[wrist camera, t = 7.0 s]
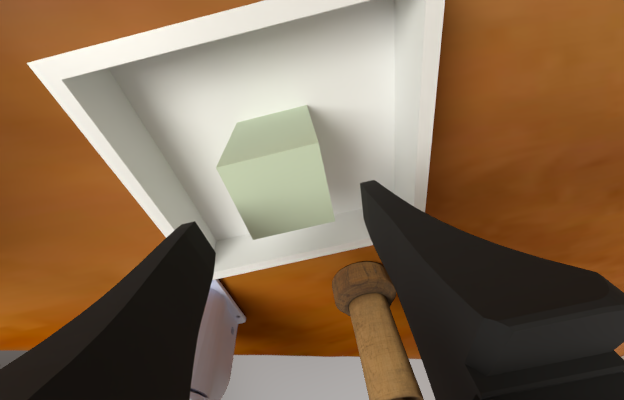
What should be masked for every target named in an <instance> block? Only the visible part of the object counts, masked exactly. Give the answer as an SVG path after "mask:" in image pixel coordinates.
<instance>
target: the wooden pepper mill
mask: <svg viewBox="0 0 624 400" xmlns="http://www.w3.org/2000/svg"><path fill="white" fill-rule="evenodd" d="M332 288H333V293H334V299H335V304H336V306H337V308H338V309H339V310H340V311H342V312H343V313H346V314H347V315H349V316H351V319H352V324H353V328H354V332H355V337H356V341H357V345H358V350H359V354H360V359H361V363H362V368H363V372H364V377H365V381H366V386H367V391H368V395H369V400H424V399H423V396H422V393H421V391H420V388H419V386H418V383H417V380H416V378H415V375H414V373H413V370H412V367H411V365H410V362H409V359H408V357H407V354H406V351H405V349H404V346H403V343H402V341H401V338H400V335H399V332H398V330H397V327H396V324H395V321H394V319H393V316H392V313H391V310H390V305H391V303H392V302H393V300H394V298H395V296H396V290H395V287H394V285H393V283H392V281H391V279H390V277H389V275H388V273H387V271H386V269H385V267H384V266H382V265H381V264H378V263H374V262H359V263H354V264H352V265H349V266H346V267H344V268H343V269H341V270H340V271H339V272H338V273H337V274H336V275H335V277H334V279H333V282H332Z"/></svg>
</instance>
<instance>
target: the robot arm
mask: <svg viewBox="0 0 624 400" xmlns="http://www.w3.org/2000/svg"><path fill="white" fill-rule="evenodd" d="M360 189H361V199H362V208H363V218H364V222H365V225H366V228H367V230H368V233H369V236H370V239H371V241H372V243H373V245H374V247H375V249H376V251H377V253H378V255H379V257H380V259H381V261H382V263H383V265H384V267H385V269H386V271H387V273H388V275H389V277H390V279H391V281H392V283H393V285H394V287H395V290H396V292H397V294H398V297H399V299H400V302H401V305H402V307H403V310H404V312H405V315H406V318H407V320H408V323H409V326H410V328H411V331H412V334H413V336H414V339H415V342H416V345H417V347H418V350H419V353H420V356H421V359H422V361H423V364H424V367H425V370H426V373H427V376H428V378H429V382H430V384H431V387H432V390H433V393H434V396H435V399H436V400H624V360H623V359H622V358H621V357H620V356H619V355H618V354H617V353H616V352H615V351H614V349H616V348H617V347H618V346H619V345H621V344H622V343H623V342H624V293H623V292H622V291H621V290H619V289H618V288H617V287H616V286H614V285H613V284H612V283H610V282H609V281H608V280H606V279H605V278H604V277H602V276H601V275H600V274H598V273H597V272H593V271H589V270H585V269H581V268H577V267H574V266H570V265H566V264H562V263H558V262H554V261H550V260H546V259H543V258H539V257H536V256H532V255H529V254H526V253H523V252H519V251H516V250H513V249H510V248H507V247H504V246H501V245H498V244H495V243H492V242H490V241H487V240H484V239H482V238H479V237H476V236H474V235H471V234H469V233H466V232H464V231H461V230H459V229H457V228H455V227H453V226H450V225H448V224H446V223H444V222H442V221H440V220H438V219H436V218H434V217H432V216H430V215H428V214H426V213H425V212H423V211H421V210H419V209H417V208H416V207H414V206H412V205H411V204H409V203H408V202H406V201H404V200H403V199H401V198H400V197H398V196H397V195H395V194H394V193H392V192H391V191H390V190H388V189H387V188H385V187H384V186H383V185H381V184H380V183H378V182H377V181H375V180H371V181H367V182H362V183H360ZM215 257H216V252H215V251H214V249H213V248H212V246H211V245H210V243H209V242H208V240H207V239H206V237H205V235H204V234H203V232H202V231H201V229H200V228H199V226H198V225H197V223H196V222H195V221H194V222H190V223H185V224H181V225H180V226H179V227H178V228H176V229H175V230H174V231H173V232H172V233H171V234H170V235H169V236H168V237H167V238H166V239H165V240H164V241H162V242H161V243H160V244H159V245H158V246H157V247H156V248H155V249H154V250H153V251H152V252H151V253H150V254H149V255H148V256H147V257H146V258H145V259H144V260H143V261H142V262H141V263H140V264H139V265H138V266H136V267H135V268H134V269H133V270H132V271H131V272H130V273H129V274H128V275H127V276H126V277H124V278H123V279H122V280H121V281H120V282H119V283H118V284H117V285H116V286H114V287H113V288H112V289H111V290H110V291H109V292H107V293H106V294H105V295H104V296H103V297H101V298H100V299H99V300H98V301H96V302H95V303H94V304H93V305H91V306H90V307H89V308H88V309H86V310H85V311H84V312H83V313H81V314H80V315H79V316H77V317H76V318H74V319H73V320H72V321H70V322H69V323H68V324H66V325H65V326H63V327H62V328H61V329H59V330H58V331H57V332H55V333H54V334H52V335H51V336H50V337H48V338H47V339H45V340H44V341H43V342H41V343H40V344H38V345H37V346H35V347H34V348H32V349H31V350H29V351H28V352H26V353H25V354H23V355H22V356H20V357H19V358H17V359H16V360H14V361H13V362H11V363H9V364H8V365H6V366H5V367H3V368H2V369H0V400H220V399H221V398H222V396H223V395H224V393H225V391H226V389H227V386H228V383H229V380H230V375H231V368H232V361H233V355H234V348H235V341H236V334H237V328H238V324H241V323H244V322H245V321H246V317H245V316H244V314H243V313H242V311H241V310H240V309H239V307H238V306H237V305H236V303H235V302H234V300H233V299H232V298H231V296H230V295H229V293H228V292H227V291H226V289H225V288H224V287H223V285H222V284H221V282H220V281H219V280H218V279H215V280H212V279H213V275H214V267H215Z"/></svg>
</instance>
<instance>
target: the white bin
mask: <svg viewBox="0 0 624 400" xmlns="http://www.w3.org/2000/svg"><path fill="white" fill-rule="evenodd" d="M444 6H445V0H265V1H261V2H257V3H253V4H250V5H246V6H242V7H238V8H234V9H231V10H227V11H223V12H219V13H215V14H212V15H208V16H204V17H200V18H196V19H193V20H189V21H185V22H181V23H177V24H173V25H170V26H166V27H162V28H158V29H154V30H151V31H147V32H143V33H139V34H135V35H132V36H128V37H124V38H120V39H116V40H113V41H109V42H105V43H101V44H97V45H93V46H90V47H86V48H82V49H78V50H74V51H71V52H67V53H63V54H59V55H55V56H52V57H48V58H44V59H40V60H36V61H33V62H29V63H27V64H28V65H29V67H30V68H31V69H32V70H33V72H34V73H35V74H36V75H37V77H38V78H39V79H40V80H41V82H42V83H43V84H44V85H45V87H46V88H47V89H48V90H49V92H50V93H51V94H52V95H53V97H54V98H55V99H56V100H57V102H58V103H59V104H60V105H61V107H62V108H63V109H64V110H65V112H66V113H67V114H68V115H69V117H70V118H71V119H72V120H73V122H74V123H75V124H76V125H77V127H78V128H79V129H80V130H81V132H82V133H83V134H84V135H85V137H86V138H87V139H88V140H89V142H90V143H91V144H92V145H93V147H94V148H95V149H96V150H97V152H98V153H99V154H100V155H101V157H102V158H103V159H104V160H105V162H106V163H107V164H108V165H109V167H110V168H111V169H112V170H113V172H114V173H115V174H116V175H117V177H118V178H119V179H120V180H121V182H122V183H123V184H124V185H125V187H126V188H127V189H128V190H129V192H130V193H131V194H132V195H133V197H134V198H135V199H136V200H137V202H138V203H139V204H140V206H141V207H142V208H143V209H144V211H145V212H146V213H147V214H148V216H149V217H150V218H151V219H152V221H153V222H154V223H155V224H156V226H157V227H158V228H159V229H160V231H161V232H162V233H163V234H164V236H165V237H166V238H167V237H168V236H169V235H170V234H171V233H172V232H173V231H174V230H175V229H176V228H178V227H179V226H180V225H181V224H185V223H190V222H194V221H195V222H196V223H197V225H198V226H199V228H200V229H201V231H202V232H203V234H204V235H205V237H206V239H207V240H208V242H209V243H210V245H211V246H212V248H213V249H214V251H215V252H216V257H215V267H214V275H213V279H212V280H215V279H220V278H224V277H229V276H233V275H238V274H242V273H247V272H252V271H256V270H261V269H265V268H270V267H274V266H279V265H284V264H288V263H293V262H297V261H302V260H306V259H311V258H316V257H320V256H325V255H329V254H334V253H338V252H343V251H347V250H352V249H357V248H361V247H366V246H370V245H373V243H372V241H371V239H370V236H369V233H368V230H367V228H366V225H365V222H364V218H363V208H362V199H361V189H360V183H362V182H367V181H371V180H375V181H377V182H378V183H380V184H381V185H383V186H384V187H385V188H387V189H388V190H390V191H391V192H392V193H394V194H395V195H397V196H398V197H400V198H401V199H403V200H404V201H406V202H408V203H409V204H411V205H412V206H414V207H416V208H417V209H419V210H421V211H423V212H425V208H426V197H427V187H428V176H429V165H430V155H431V144H432V133H433V123H434V112H435V102H436V91H437V80H438V70H439V59H440V48H441V38H442V27H443V17H444ZM305 105H307V107H308V110H309V114H310V117H311V120H312V123H313V126H314V129H315V133H316V136H317V139H318V142H319V147H320V151H321V156H322V161H323V166H324V170H325V175H326V180H327V185H328V189H329V194H330V199H331V204H332V208H333V213H334V218H335V221H334V222H330V223H325V224H321V225H317V226H312V227H308V228H303V229H299V230H295V231H290V232H286V233H282V234H277V235H273V236H269V237H264V238H260V239H256V240H253V239H252V237H251V235H250V233H249V231H248V229H247V227H246V225H245V223H244V222H243V220H242V218H241V216H240V214H239V212H238V210H237V208H236V206H235V204H234V202H233V200H232V198H231V196H230V194H229V192H228V190H227V188H226V186H225V184H224V183H223V181H222V179H221V177H220V175H219V173H218V171H217V169H216V167H217V164H218V162H219V160H220V158H221V156H222V154H223V151H224V149H225V147H226V145H227V143H228V141H229V139H230V136H231V134H232V132H233V130H234V128H235V126H236V123H237V122H241V121H245V120H249V119H253V118H257V117H261V116H265V115H269V114H273V113H277V112H281V111H285V110H289V109H293V108H297V107H301V106H305Z"/></svg>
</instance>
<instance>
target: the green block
mask: <svg viewBox="0 0 624 400" xmlns="http://www.w3.org/2000/svg"><path fill="white" fill-rule="evenodd" d="M216 169H217V171H218V173H219V175H220V177H221V179H222V181H223V183H224V184H225V186H226V188H227V190H228V192H229V194H230V196H231V198H232V200H233V202H234V204H235V206H236V208H237V210H238V212H239V214H240V216H241V218H242V220H243V222H244V223H245V225H246V227H247V229H248V231H249V233H250V235H251V237H252V239H253V240H256V239H260V238H264V237H269V236H273V235H277V234H282V233H286V232H290V231H295V230H299V229H303V228H308V227H312V226H317V225H321V224H325V223H330V222H334V221H335V218H334V213H333V208H332V204H331V199H330V194H329V189H328V185H327V180H326V175H325V170H324V166H323V161H322V156H321V151H320V147H319V142H318V139H317V136H316V133H315V129H314V126H313V123H312V120H311V117H310V114H309V110H308V107H307V105H305V106H301V107H297V108H293V109H289V110H285V111H281V112H277V113H273V114H269V115H265V116H261V117H257V118H253V119H249V120H245V121H241V122H237V123H236V126H235V128H234V130H233V132H232V134H231V136H230V139H229V141H228V143H227V145H226V147H225V149H224V151H223V154H222V156H221V158H220V160H219V162H218V164H217V167H216Z"/></svg>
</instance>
